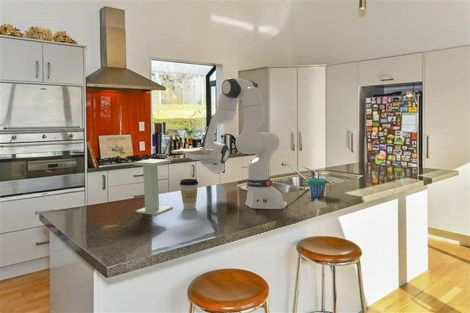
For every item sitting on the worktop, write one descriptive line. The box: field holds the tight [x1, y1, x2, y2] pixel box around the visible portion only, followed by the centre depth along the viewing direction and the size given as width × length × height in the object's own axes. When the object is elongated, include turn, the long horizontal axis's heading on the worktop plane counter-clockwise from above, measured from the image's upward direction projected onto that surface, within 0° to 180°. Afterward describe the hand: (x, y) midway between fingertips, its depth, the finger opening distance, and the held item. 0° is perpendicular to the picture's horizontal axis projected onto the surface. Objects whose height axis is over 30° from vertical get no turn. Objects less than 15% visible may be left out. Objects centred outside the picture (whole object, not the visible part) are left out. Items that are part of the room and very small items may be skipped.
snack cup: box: [303, 177, 332, 198], centre depth 221 cm, size 16×10×10 cm
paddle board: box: [171, 146, 205, 155], centre depth 199 cm, size 12×21×1 cm, turn 155°
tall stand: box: [132, 158, 174, 216], centre depth 193 cm, size 13×14×26 cm
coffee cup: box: [179, 178, 199, 211], centre depth 198 cm, size 10×10×15 cm
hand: (196, 148), depth 203 cm, fingers closed on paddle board, 4 cm apart
